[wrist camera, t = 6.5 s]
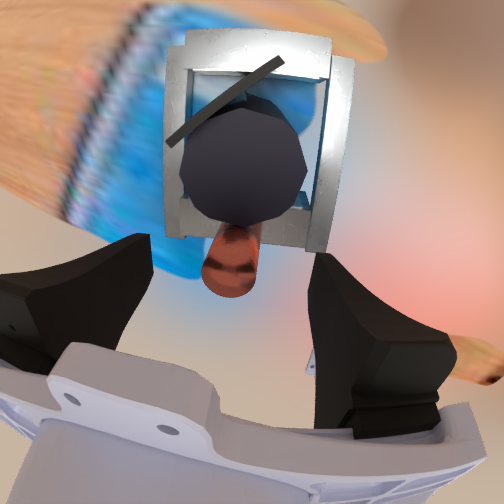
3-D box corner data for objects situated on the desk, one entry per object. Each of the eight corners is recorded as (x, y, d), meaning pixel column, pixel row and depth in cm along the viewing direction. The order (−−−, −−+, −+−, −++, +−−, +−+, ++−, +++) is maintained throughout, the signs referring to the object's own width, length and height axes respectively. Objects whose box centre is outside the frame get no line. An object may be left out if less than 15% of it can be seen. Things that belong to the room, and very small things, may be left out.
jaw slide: (300, 223, 22) (313, 307, 13) (195, 212, 22) (146, 286, 13) (305, 190, 20) (325, 258, 12) (195, 179, 21) (140, 239, 12)
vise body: (322, 244, 22) (330, 272, 19) (172, 228, 23) (154, 253, 19) (350, 56, 15) (367, 46, 12) (175, 43, 16) (153, 33, 12)
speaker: (186, 87, 18) (127, 96, 9) (266, 63, 17) (279, 43, 8) (220, 180, 22) (197, 259, 13) (294, 160, 21) (326, 227, 12)
